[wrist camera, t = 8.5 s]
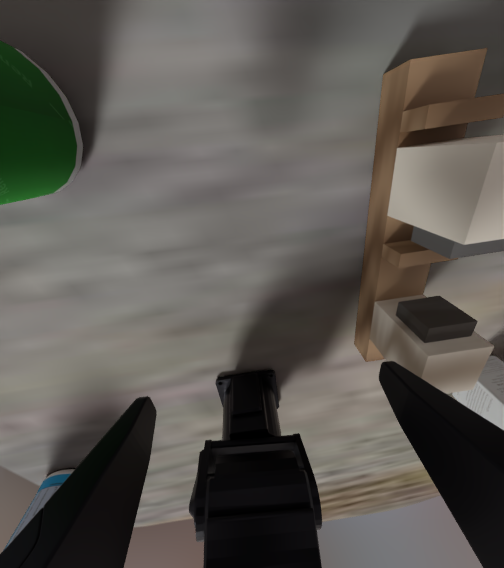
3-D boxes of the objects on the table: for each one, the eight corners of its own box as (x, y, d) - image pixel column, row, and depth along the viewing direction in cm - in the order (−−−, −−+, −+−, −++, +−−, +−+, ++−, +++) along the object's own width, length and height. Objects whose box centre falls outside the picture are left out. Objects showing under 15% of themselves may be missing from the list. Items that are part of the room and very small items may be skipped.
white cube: (441, 224, 16) (538, 255, 11) (384, 232, 16) (456, 268, 11) (463, 138, 14) (603, 126, 9) (397, 148, 14) (496, 142, 9)
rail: (391, 338, 25) (459, 415, 17) (354, 343, 25) (406, 423, 17) (448, 64, 14) (685, -37, 7) (383, 74, 14) (549, -17, 7)
